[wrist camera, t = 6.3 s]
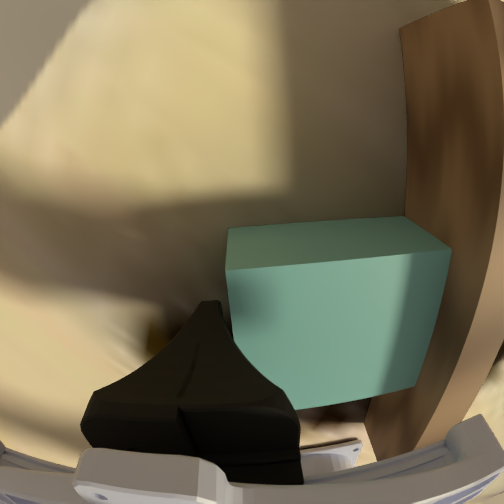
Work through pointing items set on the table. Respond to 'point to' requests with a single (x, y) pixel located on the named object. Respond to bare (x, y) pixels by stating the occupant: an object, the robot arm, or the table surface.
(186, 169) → the table surface
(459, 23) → the walnut board
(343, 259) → the teal block
